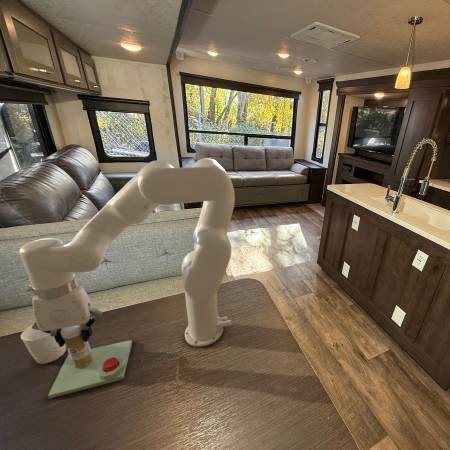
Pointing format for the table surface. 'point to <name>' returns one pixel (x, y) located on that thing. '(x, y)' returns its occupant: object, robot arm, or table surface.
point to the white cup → (42, 345)
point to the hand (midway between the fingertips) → (76, 339)
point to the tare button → (110, 364)
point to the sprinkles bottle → (77, 346)
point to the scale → (92, 370)
